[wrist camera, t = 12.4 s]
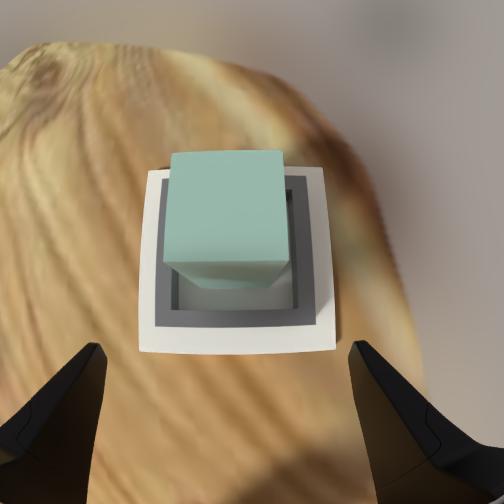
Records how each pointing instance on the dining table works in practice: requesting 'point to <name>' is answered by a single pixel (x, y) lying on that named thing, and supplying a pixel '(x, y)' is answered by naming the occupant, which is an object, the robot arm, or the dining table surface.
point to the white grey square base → (242, 299)
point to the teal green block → (227, 218)
